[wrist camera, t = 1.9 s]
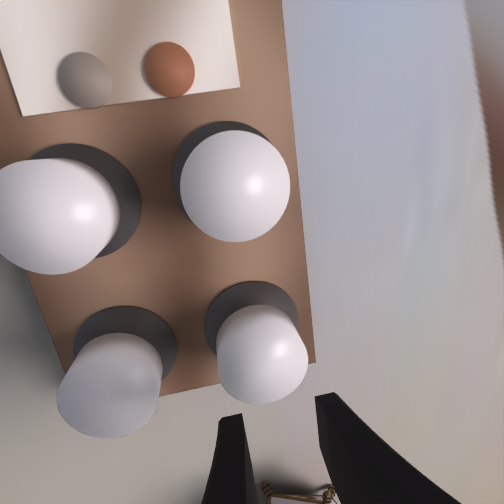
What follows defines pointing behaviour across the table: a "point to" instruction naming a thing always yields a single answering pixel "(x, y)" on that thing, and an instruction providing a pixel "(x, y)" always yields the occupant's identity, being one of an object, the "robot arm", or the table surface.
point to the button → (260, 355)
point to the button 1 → (55, 214)
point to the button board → (155, 164)
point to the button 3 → (235, 186)
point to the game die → (299, 497)
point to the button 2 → (111, 386)
